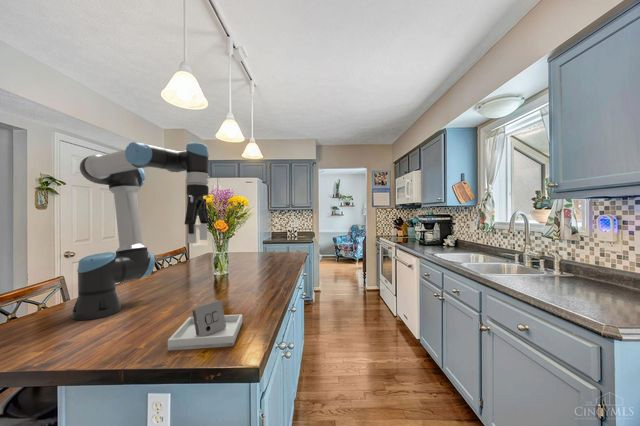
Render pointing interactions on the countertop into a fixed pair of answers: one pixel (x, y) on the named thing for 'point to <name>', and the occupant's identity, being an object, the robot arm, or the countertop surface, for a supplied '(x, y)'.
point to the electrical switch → (209, 318)
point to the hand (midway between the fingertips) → (198, 241)
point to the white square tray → (189, 339)
